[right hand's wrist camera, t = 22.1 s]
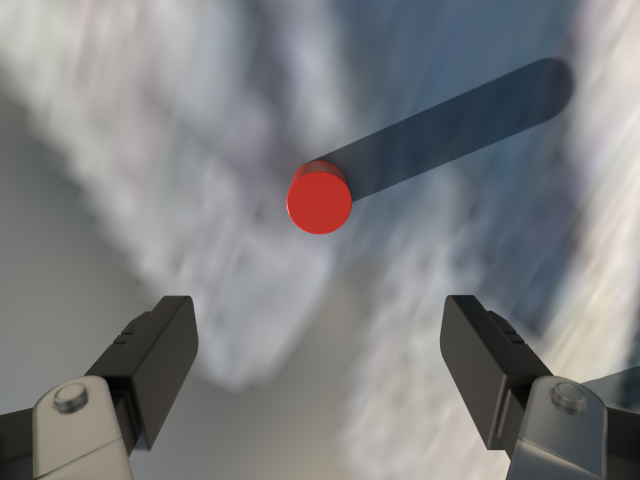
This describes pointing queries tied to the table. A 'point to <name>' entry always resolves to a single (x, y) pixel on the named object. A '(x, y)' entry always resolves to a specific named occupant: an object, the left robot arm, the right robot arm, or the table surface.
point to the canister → (319, 198)
